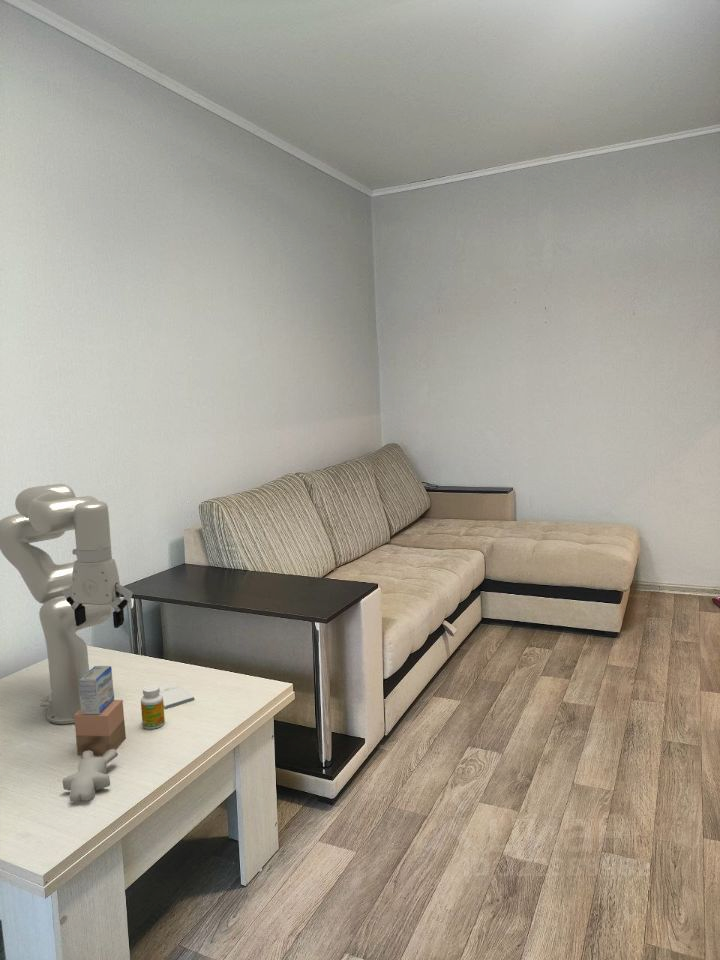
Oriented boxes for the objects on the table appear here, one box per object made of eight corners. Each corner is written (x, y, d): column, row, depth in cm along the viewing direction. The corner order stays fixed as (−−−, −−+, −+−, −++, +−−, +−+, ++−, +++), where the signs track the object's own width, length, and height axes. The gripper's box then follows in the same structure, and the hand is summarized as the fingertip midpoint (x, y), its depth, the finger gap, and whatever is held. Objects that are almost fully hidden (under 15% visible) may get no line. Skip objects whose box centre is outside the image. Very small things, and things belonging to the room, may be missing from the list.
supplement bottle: (144, 731, 171) (141, 694, 169) (140, 722, 175) (138, 686, 174) (167, 726, 173) (164, 689, 172) (162, 717, 178) (159, 681, 176)
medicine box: (99, 715, 159) (96, 679, 158) (80, 714, 159) (77, 679, 158) (114, 699, 167) (111, 665, 165) (97, 699, 167) (94, 665, 166)
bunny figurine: (54, 789, 140) (77, 743, 155) (57, 810, 142) (80, 762, 156) (101, 786, 141) (120, 740, 155) (104, 807, 142) (123, 760, 157)
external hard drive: (165, 711, 182) (148, 695, 192) (194, 702, 187) (177, 686, 197) (165, 705, 182) (148, 689, 192) (194, 696, 187) (176, 681, 197)
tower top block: (75, 735, 160) (74, 715, 159) (92, 718, 168) (90, 699, 167) (109, 736, 159) (107, 715, 159) (124, 719, 167) (122, 699, 166)
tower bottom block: (77, 755, 161) (75, 735, 160) (94, 738, 169) (92, 718, 168) (110, 757, 160) (108, 736, 159) (125, 739, 168) (124, 719, 167)
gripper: (50, 557, 158) (57, 629, 161) (120, 560, 155) (125, 632, 158) (70, 549, 166) (75, 617, 168) (136, 551, 163) (141, 621, 165)
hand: (99, 624), depth 163 cm, fingers open, 9 cm apart
